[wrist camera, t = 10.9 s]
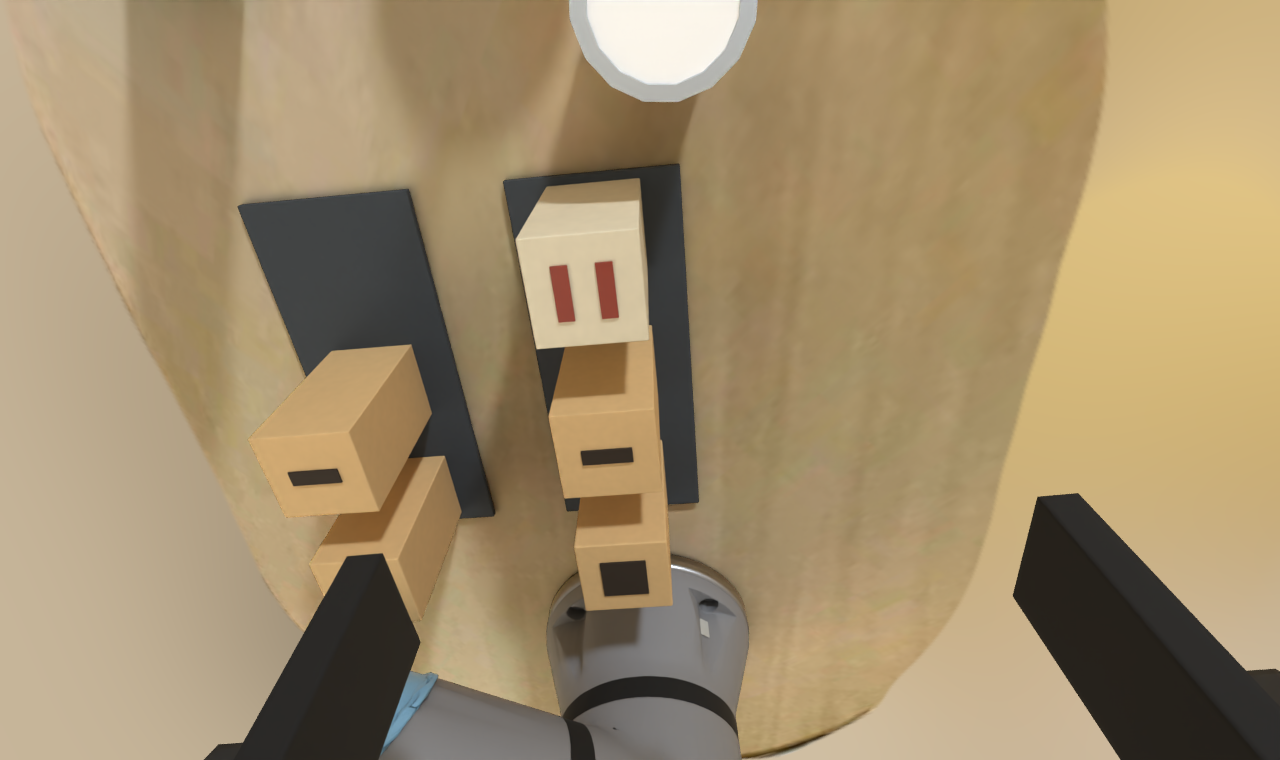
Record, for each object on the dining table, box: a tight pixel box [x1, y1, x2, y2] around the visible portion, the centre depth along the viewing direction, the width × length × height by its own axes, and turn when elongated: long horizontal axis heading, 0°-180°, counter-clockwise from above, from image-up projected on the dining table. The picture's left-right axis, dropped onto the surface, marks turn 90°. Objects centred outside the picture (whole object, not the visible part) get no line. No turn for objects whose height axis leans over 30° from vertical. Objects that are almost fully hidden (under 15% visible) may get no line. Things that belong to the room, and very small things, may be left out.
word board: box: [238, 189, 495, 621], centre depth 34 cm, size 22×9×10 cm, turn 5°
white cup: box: [569, 0, 758, 102], centre depth 25 cm, size 7×7×7 cm
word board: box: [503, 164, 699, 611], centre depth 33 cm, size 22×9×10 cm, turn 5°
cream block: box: [516, 178, 649, 349], centre depth 29 cm, size 5×5×9 cm
